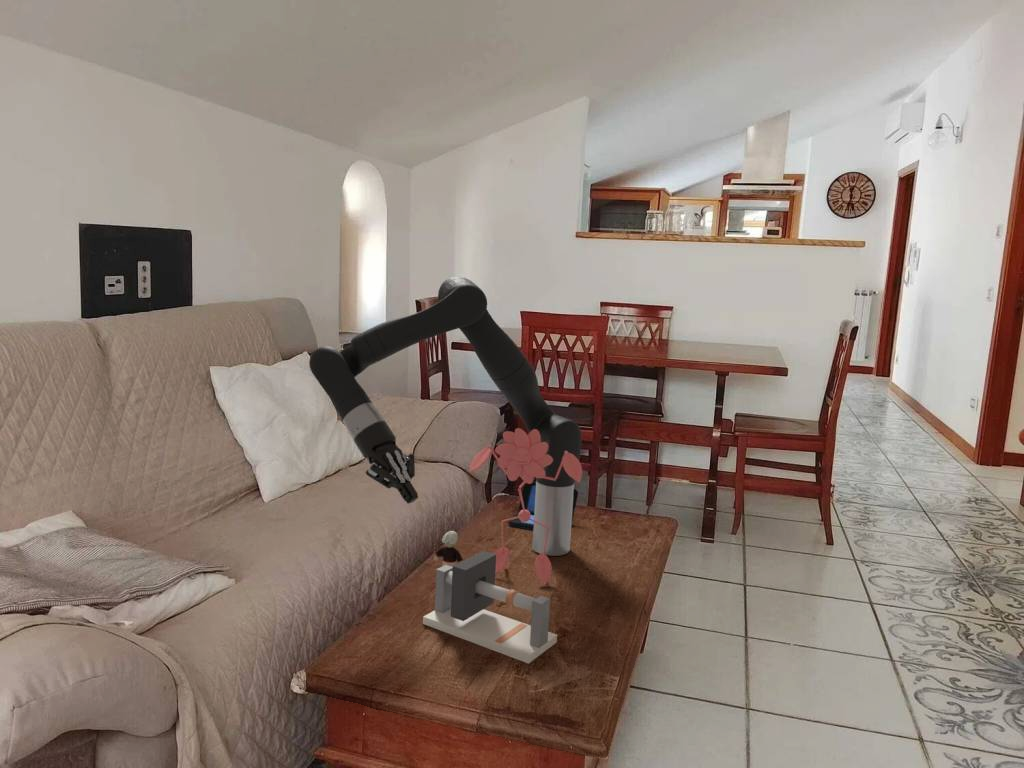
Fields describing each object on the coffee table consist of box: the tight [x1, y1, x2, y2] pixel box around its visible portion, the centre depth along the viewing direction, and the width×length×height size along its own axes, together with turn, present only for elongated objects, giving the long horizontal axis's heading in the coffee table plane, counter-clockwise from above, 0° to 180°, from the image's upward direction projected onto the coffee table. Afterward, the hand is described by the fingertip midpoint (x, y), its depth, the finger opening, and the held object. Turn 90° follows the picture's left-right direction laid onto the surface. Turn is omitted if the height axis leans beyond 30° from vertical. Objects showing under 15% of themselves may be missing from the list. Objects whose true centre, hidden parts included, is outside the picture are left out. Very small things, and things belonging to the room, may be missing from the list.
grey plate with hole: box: [451, 550, 496, 621], centre depth 152 cm, size 10×3×10 cm, turn 147°
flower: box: [469, 427, 583, 598], centre depth 171 cm, size 15×26×35 cm, turn 72°
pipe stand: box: [422, 565, 558, 665], centre depth 150 cm, size 10×24×10 cm, turn 57°
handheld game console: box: [508, 481, 579, 531], centre depth 214 cm, size 16×13×9 cm
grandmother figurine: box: [433, 530, 464, 567], centre depth 169 cm, size 8×4×13 cm, turn 71°
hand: (413, 500), depth 158 cm, fingers closed
